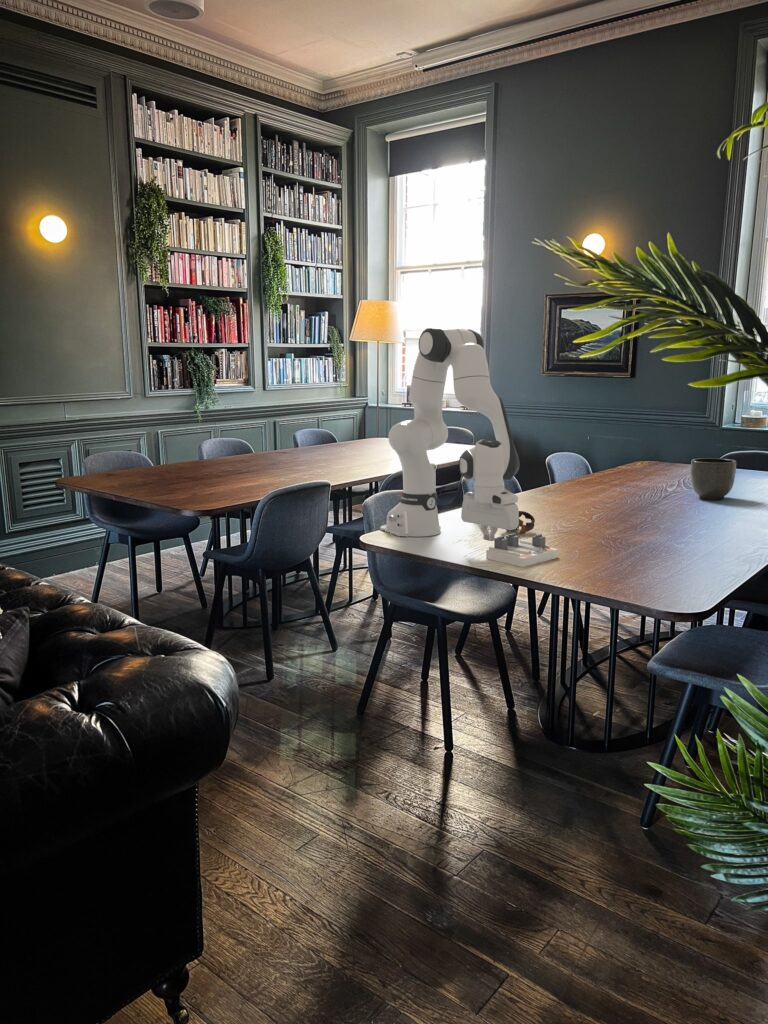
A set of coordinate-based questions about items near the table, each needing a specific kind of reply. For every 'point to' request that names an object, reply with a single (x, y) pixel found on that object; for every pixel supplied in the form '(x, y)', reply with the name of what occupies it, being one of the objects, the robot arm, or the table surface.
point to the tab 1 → (500, 543)
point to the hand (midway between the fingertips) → (488, 540)
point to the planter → (712, 477)
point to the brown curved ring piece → (528, 525)
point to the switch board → (522, 554)
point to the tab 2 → (538, 541)
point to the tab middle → (512, 540)
